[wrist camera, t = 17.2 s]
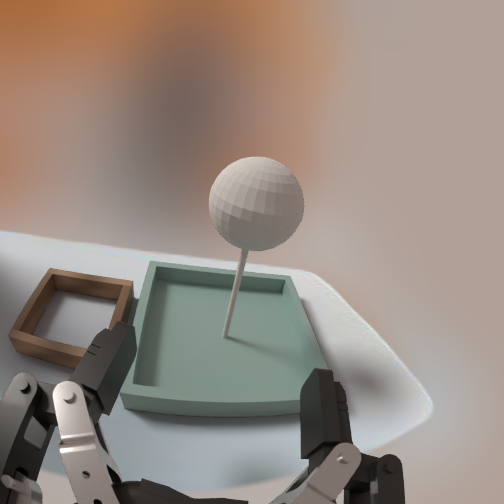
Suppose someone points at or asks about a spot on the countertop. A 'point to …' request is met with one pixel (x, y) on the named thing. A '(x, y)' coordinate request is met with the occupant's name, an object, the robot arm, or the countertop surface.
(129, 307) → the square wooden frame
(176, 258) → the countertop surface
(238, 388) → the tray
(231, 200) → the lollipop
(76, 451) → the robot arm
